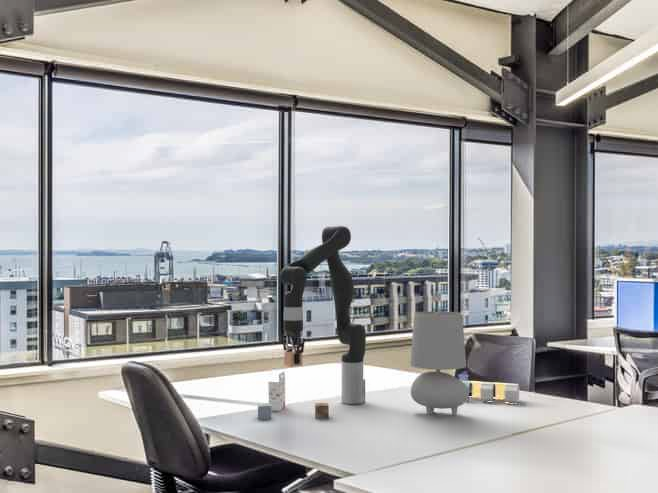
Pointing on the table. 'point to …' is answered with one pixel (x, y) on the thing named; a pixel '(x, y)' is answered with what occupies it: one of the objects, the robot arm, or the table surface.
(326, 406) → the walnut block
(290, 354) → the terracotta block
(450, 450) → the table surface
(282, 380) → the ink cartridge box
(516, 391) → the diorama
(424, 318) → the table lamp
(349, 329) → the robot arm
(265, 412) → the slate block
